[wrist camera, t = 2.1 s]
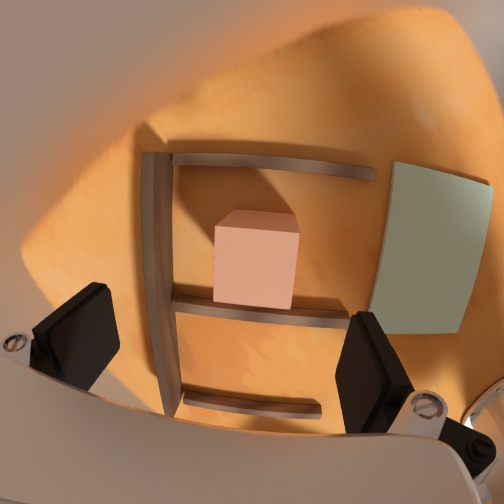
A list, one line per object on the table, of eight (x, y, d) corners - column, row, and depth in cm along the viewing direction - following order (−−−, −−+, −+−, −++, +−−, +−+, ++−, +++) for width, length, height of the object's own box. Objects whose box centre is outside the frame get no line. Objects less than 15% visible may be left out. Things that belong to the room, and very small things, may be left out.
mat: (490, 186, 20) (493, 187, 19) (454, 330, 24) (457, 333, 24) (393, 161, 21) (395, 161, 20) (362, 330, 25) (363, 333, 25)
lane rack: (370, 168, 21) (387, 169, 17) (319, 410, 29) (321, 435, 25) (163, 153, 23) (142, 152, 19) (175, 393, 31) (165, 415, 27)
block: (294, 213, 23) (299, 233, 16) (288, 270, 24) (290, 309, 18) (234, 208, 23) (215, 226, 17) (231, 265, 25) (213, 301, 18)
